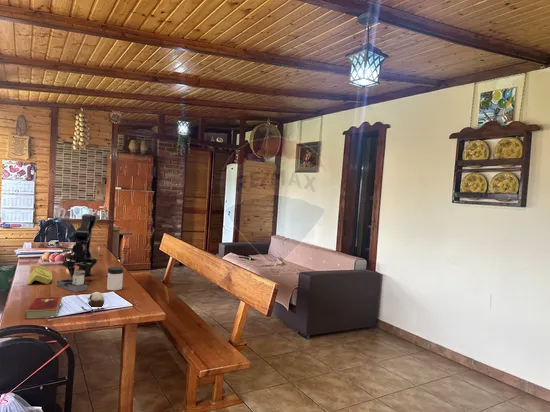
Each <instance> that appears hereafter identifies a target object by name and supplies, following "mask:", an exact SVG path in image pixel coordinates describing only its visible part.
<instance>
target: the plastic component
mask: <svg viewBox="0 0 550 412" xmlns="http://www.w3.org/2000/svg"><path fill="white" fill-rule="evenodd" d="M52 280H53V274H52V271H51V270H50V269H48V268H46V267H44V266H41V265H36V266H35V267H34V268H33V270H32V272H31V273H30V274H29V276H28V278H27V282H26V283H27V285H28V286H30V285H31V284H32V283H33V282H34V281H37V282H38V283H39V282H40V283H43V284H45V285H50V284H51V281H52Z"/></svg>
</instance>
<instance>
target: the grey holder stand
mask: <svg viewBox="0 0 550 412" xmlns="http://www.w3.org/2000/svg"><path fill="white" fill-rule="evenodd" d="M56 287H59V288H61V289H65V290H67V291H70V292H73V293H78V292H83V291H88V284H86V283H85V276H84V275H82V274H75V275H73V276H72V278H65V279H60V280H56Z"/></svg>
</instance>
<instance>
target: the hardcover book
mask: <svg viewBox="0 0 550 412" xmlns="http://www.w3.org/2000/svg"><path fill="white" fill-rule="evenodd" d="M62 300H63V295H61V296H39V297H38V296H37V297H36V296H35V297H34V299H33V300H32V302H31V303H30V305H29V306H28V308H27V309H26V311H25V314H24V318H25V319H42V318H43V319H44V318H46V317H48V318H52V317H51V316H57V314H58V312H59V310H60V308H59V307H61V305H62ZM60 304H61V305H60ZM58 309H59V310H58ZM57 311H58V312H57ZM56 313H57V314H56Z"/></svg>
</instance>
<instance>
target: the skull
mask: <svg viewBox="0 0 550 412" xmlns="http://www.w3.org/2000/svg"><path fill="white" fill-rule="evenodd" d="M87 299H88V302H87V303H88V304H89V305H90V306H91V307H102V306H103V304H104V303H105V297H104V295H103V294H102V293H101V292H99V291H95V292H92V293H91V294H90V295H89V297H88V298H87Z"/></svg>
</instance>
